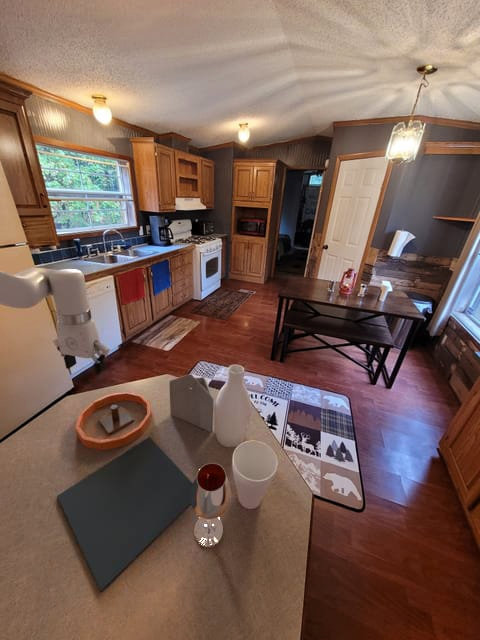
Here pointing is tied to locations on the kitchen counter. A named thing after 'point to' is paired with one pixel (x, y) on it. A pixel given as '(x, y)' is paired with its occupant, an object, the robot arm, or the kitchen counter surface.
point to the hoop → (118, 440)
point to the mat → (125, 508)
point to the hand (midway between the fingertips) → (85, 369)
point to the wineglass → (210, 502)
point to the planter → (192, 401)
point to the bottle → (232, 409)
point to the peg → (115, 419)
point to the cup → (253, 471)
